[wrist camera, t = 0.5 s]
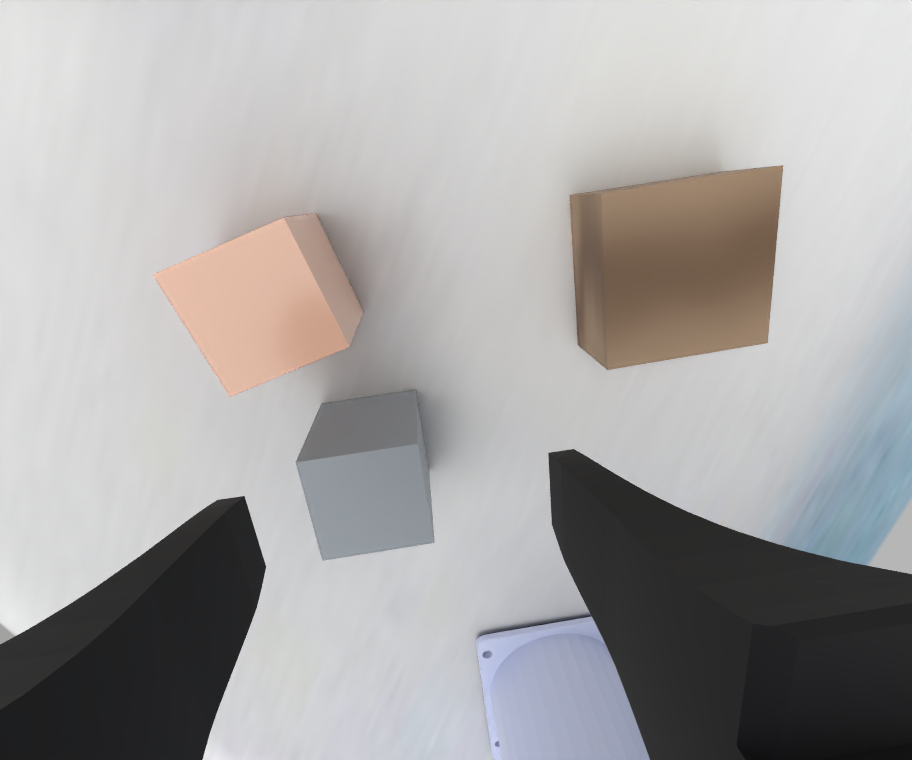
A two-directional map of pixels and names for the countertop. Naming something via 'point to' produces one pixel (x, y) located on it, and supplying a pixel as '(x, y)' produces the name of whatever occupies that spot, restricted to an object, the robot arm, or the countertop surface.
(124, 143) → the countertop surface
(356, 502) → the slate block
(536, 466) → the countertop surface
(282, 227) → the terracotta block
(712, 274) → the walnut block
